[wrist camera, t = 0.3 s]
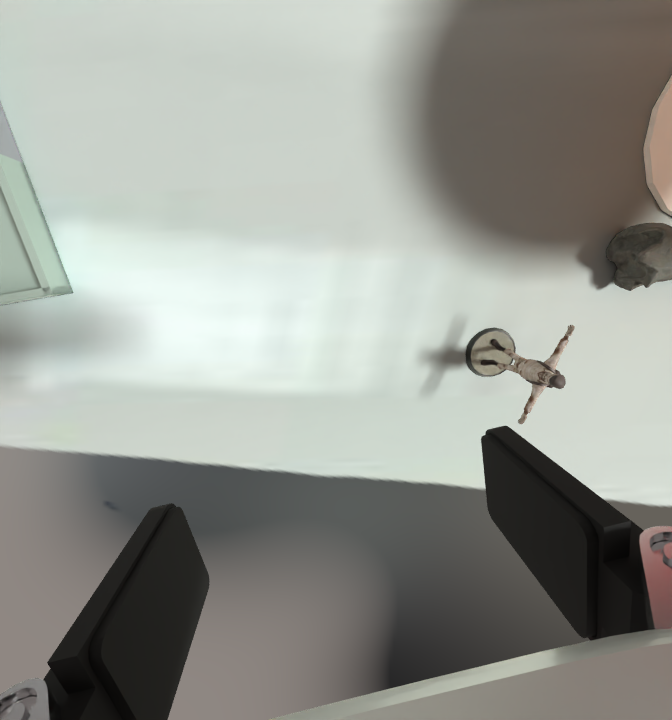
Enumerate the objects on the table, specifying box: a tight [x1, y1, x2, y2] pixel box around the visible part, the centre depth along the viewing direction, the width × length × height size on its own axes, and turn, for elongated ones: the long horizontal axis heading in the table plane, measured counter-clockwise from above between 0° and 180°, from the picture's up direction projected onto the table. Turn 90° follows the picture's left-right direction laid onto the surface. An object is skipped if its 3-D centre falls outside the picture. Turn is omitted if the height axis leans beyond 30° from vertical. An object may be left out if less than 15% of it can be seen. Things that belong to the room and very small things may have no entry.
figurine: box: [466, 325, 574, 424], centre depth 36 cm, size 11×7×12 cm, turn 160°
